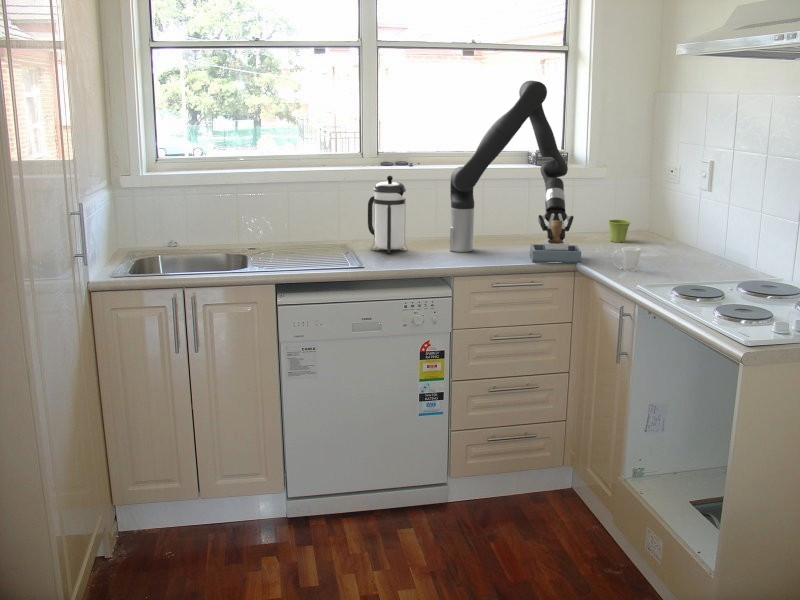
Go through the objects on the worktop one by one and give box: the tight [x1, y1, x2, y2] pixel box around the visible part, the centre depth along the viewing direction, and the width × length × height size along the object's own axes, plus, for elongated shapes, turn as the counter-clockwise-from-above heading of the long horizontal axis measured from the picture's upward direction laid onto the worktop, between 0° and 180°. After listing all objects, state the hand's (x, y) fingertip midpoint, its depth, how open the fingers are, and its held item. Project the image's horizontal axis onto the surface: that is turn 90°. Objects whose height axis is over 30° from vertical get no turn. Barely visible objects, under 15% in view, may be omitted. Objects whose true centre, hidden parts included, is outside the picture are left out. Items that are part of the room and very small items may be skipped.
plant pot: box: [607, 219, 632, 243], centre depth 341 cm, size 9×9×9 cm
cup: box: [611, 246, 642, 272], centre depth 288 cm, size 7×10×8 cm
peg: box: [550, 220, 562, 243], centre depth 303 cm, size 4×4×12 cm
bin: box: [529, 243, 582, 265], centre depth 305 cm, size 18×13×4 cm
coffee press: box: [367, 175, 409, 255], centre depth 316 cm, size 17×16×30 cm
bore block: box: [542, 238, 569, 251], centre depth 304 cm, size 9×9×6 cm
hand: (556, 238), depth 301 cm, fingers closed on peg, 4 cm apart
